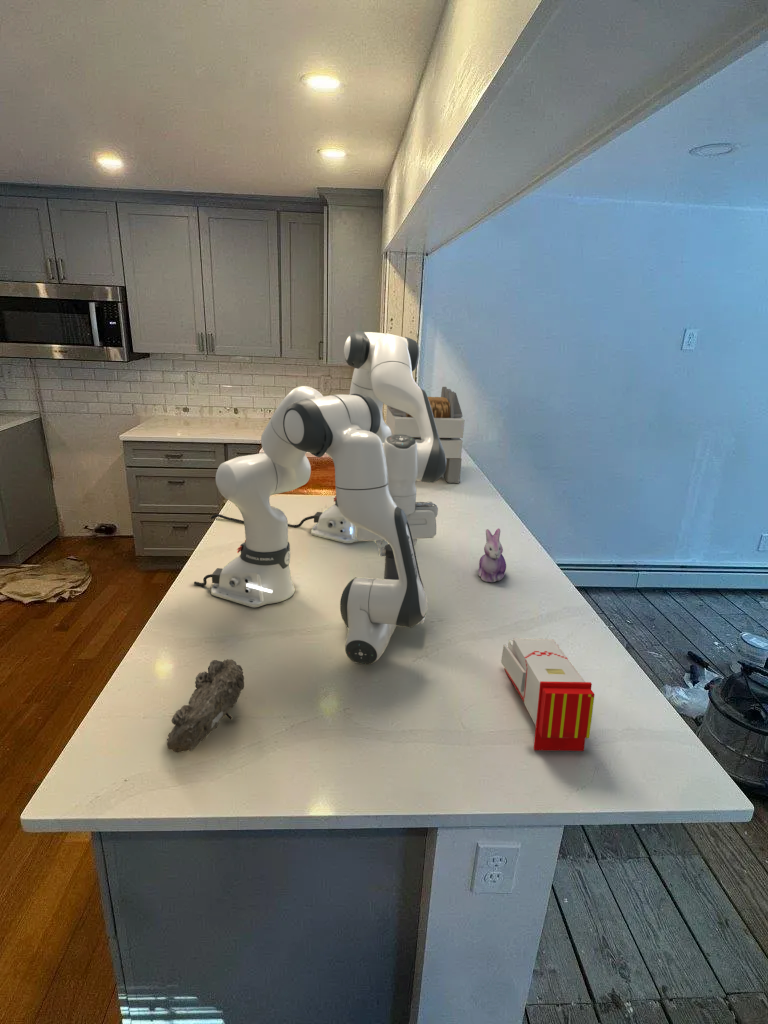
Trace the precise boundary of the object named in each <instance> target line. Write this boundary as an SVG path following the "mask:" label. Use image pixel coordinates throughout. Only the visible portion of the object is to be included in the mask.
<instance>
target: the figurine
mask: <svg viewBox="0 0 768 1024" xmlns="http://www.w3.org/2000/svg"><path fill="white" fill-rule="evenodd" d="M500 537H501V528H499V527H498V528H497V529H496V530H495V532H494V534H492V532H491V531H490V530H489V528H488V529H485V539H486V543H485V544H484V546H483V551H484V554H482V555H481V556H480V558H479V562H478V570H477V575H478V577H480V579H481V580H482V581H484V582H487V583H495V582H499V581H501V580H503V578H504V577H505V574H506V571H507V563H506V559H505V557H504V556H503V552H504V548H503V545H502V543H501V541H500Z"/></svg>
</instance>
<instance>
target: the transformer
mask: <svg viewBox="0 0 768 1024" xmlns="http://www.w3.org/2000/svg"><path fill="white" fill-rule="evenodd" d="M440 393H441V394H440V396H427V397H428V399H429V403H430V406H431V409H432V413H433V417H434V421H435V424H436V428H437V432H438V435H439V439H440V442H441V444H442V447H443V449H444V452H445V456H446V471H445V473H444V474H443V476H442V477H443V478H444V479H445V481H446V482H447V483H449V484H455V483H456V484H459V483H461V472H462V461H463V460H462V453H463V442H464V441H463V440H462V439H463V438H464V431H465V430H464V429H465V419H464V418H463V411H462V408H461V405H460V402H459V398H458V395H457V392H455V391H453V390H452V389H451V388H447V386H442V387H441V392H440ZM385 414H386V415H385V423H386V424H387V425H388V427H389V428H390V430H391V433H392V435H396V434H402V435H407V436H410V437H412V438H414V439H415V440H416V442H417V443H422V440H421V436H420V432H419V428H418V424H417V421H416V420H415V419H414V418H413V417H412V416H411V415H409V414H408V413H406V412H403V411H401V410H398V409H396V408H392V407H390V406H387V405H386V413H385Z"/></svg>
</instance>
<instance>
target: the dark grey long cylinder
mask: <svg viewBox="0 0 768 1024" xmlns="http://www.w3.org/2000/svg"><path fill="white" fill-rule="evenodd" d="M383 572H384V574H383V579H391V580H399V577H398V572H397V567H396V563H395V558H390V557H387V556H384V571H383Z"/></svg>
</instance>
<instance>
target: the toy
mask: <svg viewBox="0 0 768 1024" xmlns="http://www.w3.org/2000/svg"><path fill="white" fill-rule="evenodd" d="M500 661H501V662H500V663H501V664H502V666H503V668H504V671H505V673H506V674H507V676H508V678H509V679H510V681H511V684H512V685H513V686H514V688H515V691H517V693H518V695H519V696H520V699H521V700H522V702H523V704H524V706H525V708H526V711H527V712H528V714H529V716H530V718H531V720H532V723H533V724H534V726H535V731H534V741H533V750H534V751H554V752H555V751H556V752H557V751H558V752H564V751H565V752H584V751H585V743H586V739H590V737H591V736H590V735H591V727H592V718H593V710H594V702H595V692H593V690H592V685H593V684H592V682H590V681H585V679H584V678H583V676H582V675H581V674H580V673H579V672H578V670H577V669H576V668H575V666H574V665H573V663H572V662H571V661H570V659H569V658H568V657H567V655H566V654H565V653H564V651H563V650H562V649H561V648H560V646H559V644H558V643H557V642H556V640H554V638H517V637H515V638H512V639H508V643H507V644H503V647H502V653H501V660H500Z"/></svg>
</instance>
